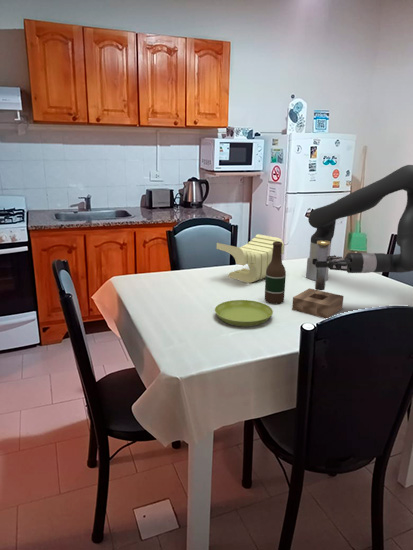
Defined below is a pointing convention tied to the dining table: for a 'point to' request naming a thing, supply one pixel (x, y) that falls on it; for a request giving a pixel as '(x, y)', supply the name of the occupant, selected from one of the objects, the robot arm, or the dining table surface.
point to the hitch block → (317, 303)
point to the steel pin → (321, 271)
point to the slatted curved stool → (252, 257)
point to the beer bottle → (275, 277)
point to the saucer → (243, 312)
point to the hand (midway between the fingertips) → (314, 263)
